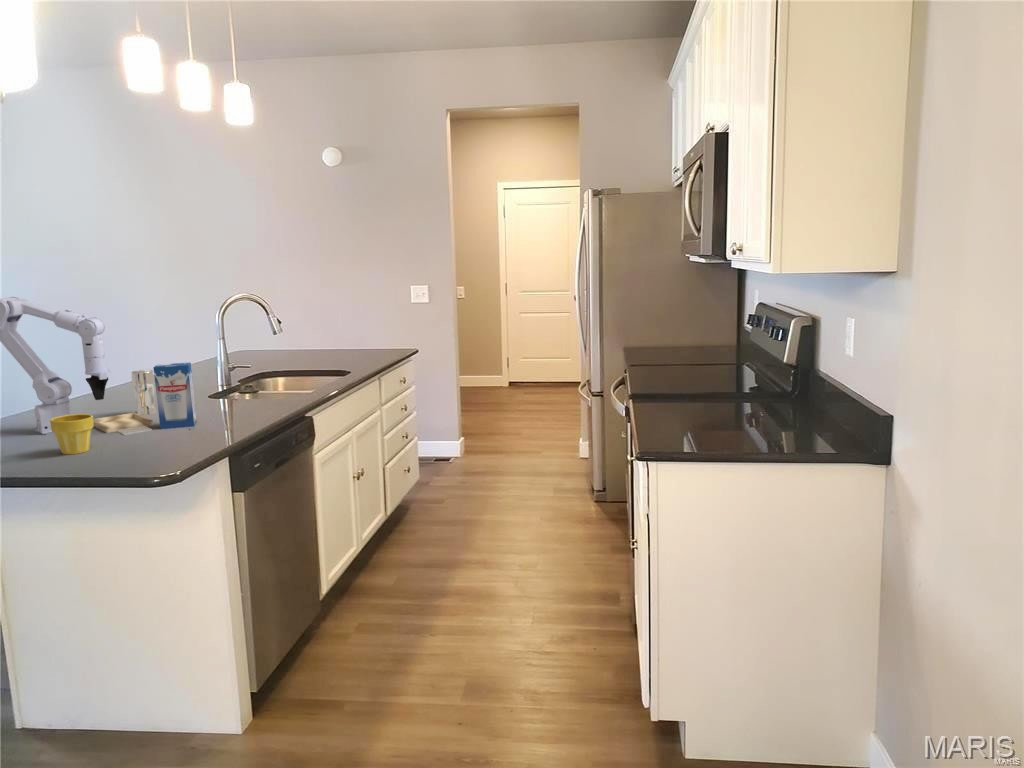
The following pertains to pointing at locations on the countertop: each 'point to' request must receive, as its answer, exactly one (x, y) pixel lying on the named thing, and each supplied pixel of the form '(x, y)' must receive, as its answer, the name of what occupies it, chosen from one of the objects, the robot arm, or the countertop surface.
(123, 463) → the countertop surface
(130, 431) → the cover plate
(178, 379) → the milk carton
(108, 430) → the tray
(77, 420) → the plant pot
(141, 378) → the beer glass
